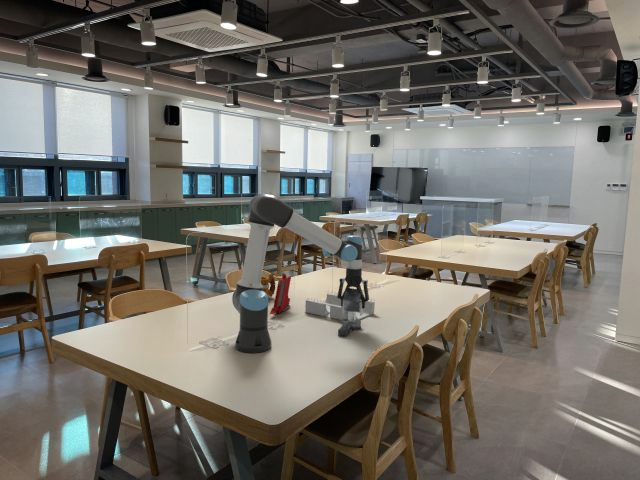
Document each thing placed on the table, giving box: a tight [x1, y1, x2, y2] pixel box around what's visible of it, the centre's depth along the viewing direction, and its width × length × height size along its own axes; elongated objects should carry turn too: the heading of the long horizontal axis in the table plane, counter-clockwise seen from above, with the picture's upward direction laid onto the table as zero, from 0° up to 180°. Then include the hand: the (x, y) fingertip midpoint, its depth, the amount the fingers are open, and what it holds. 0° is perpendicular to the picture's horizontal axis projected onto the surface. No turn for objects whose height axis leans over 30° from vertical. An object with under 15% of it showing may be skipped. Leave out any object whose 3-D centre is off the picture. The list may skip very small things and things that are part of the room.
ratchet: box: [337, 311, 362, 338], centre depth 226 cm, size 20×9×8 cm, turn 159°
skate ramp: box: [304, 290, 376, 321], centre depth 253 cm, size 30×27×11 cm
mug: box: [261, 272, 277, 301], centre depth 281 cm, size 11×16×15 cm, turn 132°
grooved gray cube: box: [343, 287, 363, 312], centre depth 229 cm, size 8×8×8 cm
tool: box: [269, 272, 292, 315], centre depth 258 cm, size 24×5×25 cm, turn 168°
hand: (352, 313), depth 230 cm, fingers closed on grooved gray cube, 8 cm apart
